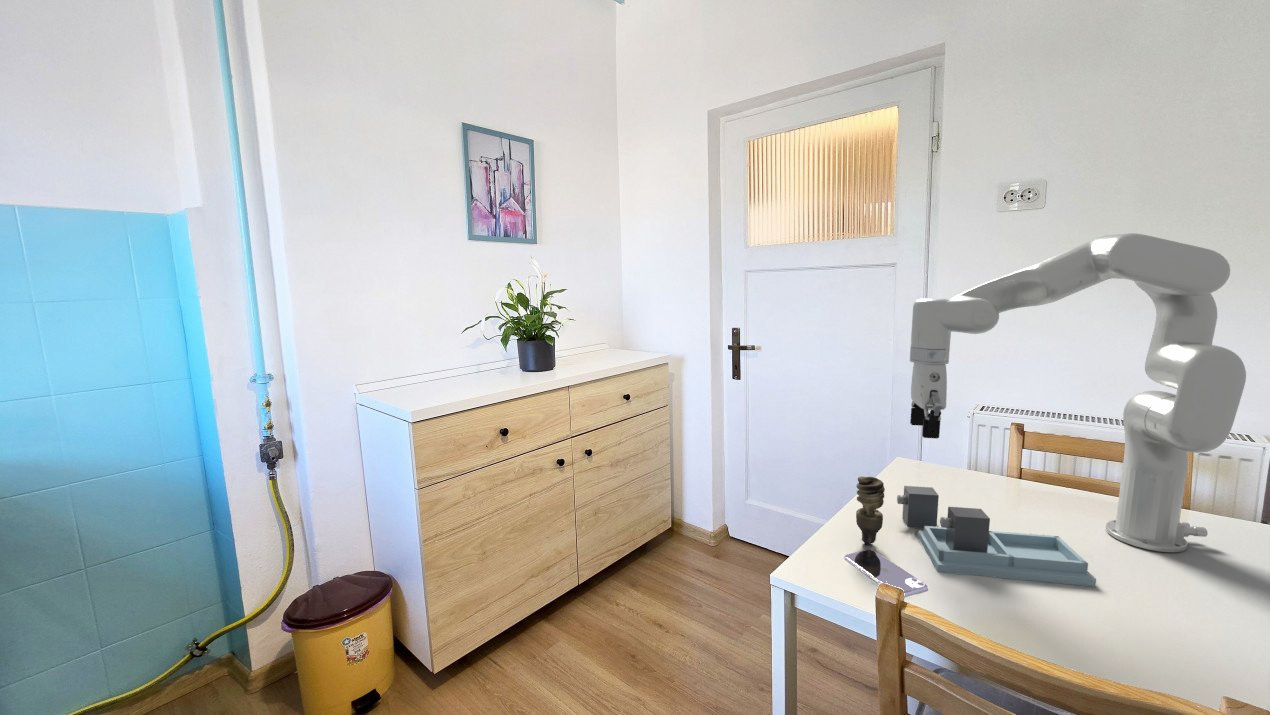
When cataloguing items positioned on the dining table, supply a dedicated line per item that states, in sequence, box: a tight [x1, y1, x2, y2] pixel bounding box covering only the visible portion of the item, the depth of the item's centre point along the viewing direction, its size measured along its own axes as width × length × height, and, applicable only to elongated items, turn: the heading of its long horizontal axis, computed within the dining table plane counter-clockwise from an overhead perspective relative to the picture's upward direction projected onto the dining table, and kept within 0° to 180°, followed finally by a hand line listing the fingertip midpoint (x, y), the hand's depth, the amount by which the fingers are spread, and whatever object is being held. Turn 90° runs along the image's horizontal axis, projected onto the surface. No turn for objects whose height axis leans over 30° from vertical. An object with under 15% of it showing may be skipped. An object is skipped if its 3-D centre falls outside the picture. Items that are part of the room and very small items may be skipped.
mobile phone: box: [843, 549, 929, 597], centre depth 104 cm, size 8×1×15 cm
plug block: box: [896, 485, 939, 529], centre depth 123 cm, size 8×4×8 cm, turn 77°
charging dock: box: [917, 526, 1097, 588], centre depth 107 cm, size 26×14×4 cm, turn 77°
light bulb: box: [855, 475, 886, 546], centre depth 114 cm, size 6×6×15 cm
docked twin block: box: [939, 506, 991, 553], centre depth 108 cm, size 8×4×8 cm, turn 77°
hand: (924, 431), depth 120 cm, fingers open, 9 cm apart
